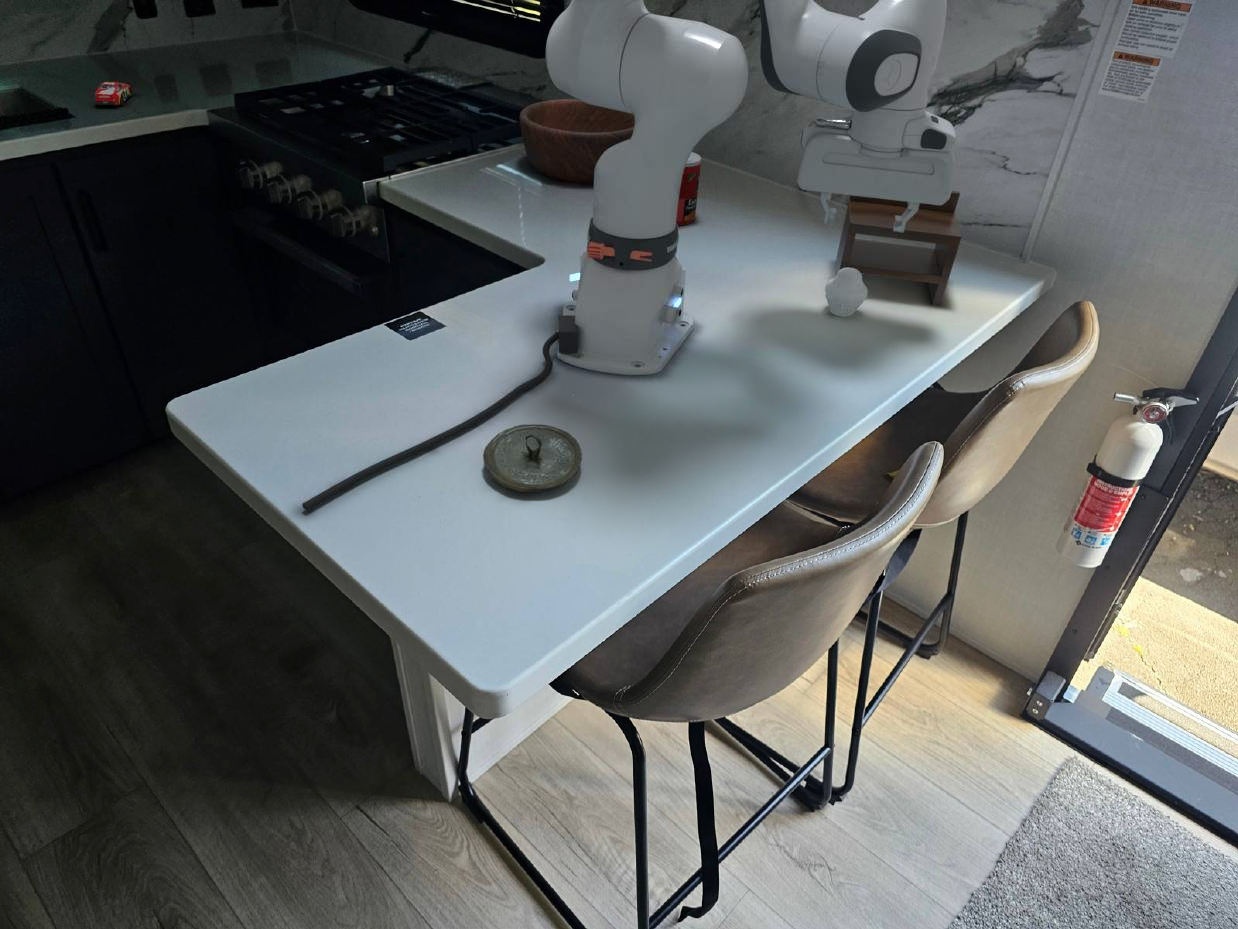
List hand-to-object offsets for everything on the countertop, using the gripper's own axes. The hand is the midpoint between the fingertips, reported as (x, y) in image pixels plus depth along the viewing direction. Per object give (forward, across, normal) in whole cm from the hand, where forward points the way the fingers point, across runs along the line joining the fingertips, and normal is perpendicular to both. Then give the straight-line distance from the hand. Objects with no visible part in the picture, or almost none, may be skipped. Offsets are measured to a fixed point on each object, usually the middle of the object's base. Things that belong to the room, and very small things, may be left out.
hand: (863, 226), depth 118 cm
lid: (+12, -33, -50) cm, 61 cm away
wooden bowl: (+14, -53, +49) cm, 73 cm away
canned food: (+14, -31, +28) cm, 44 cm away
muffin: (+13, 0, 0) cm, 13 cm away
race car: (+13, -164, +55) cm, 173 cm away
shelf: (+14, +6, +12) cm, 19 cm away
